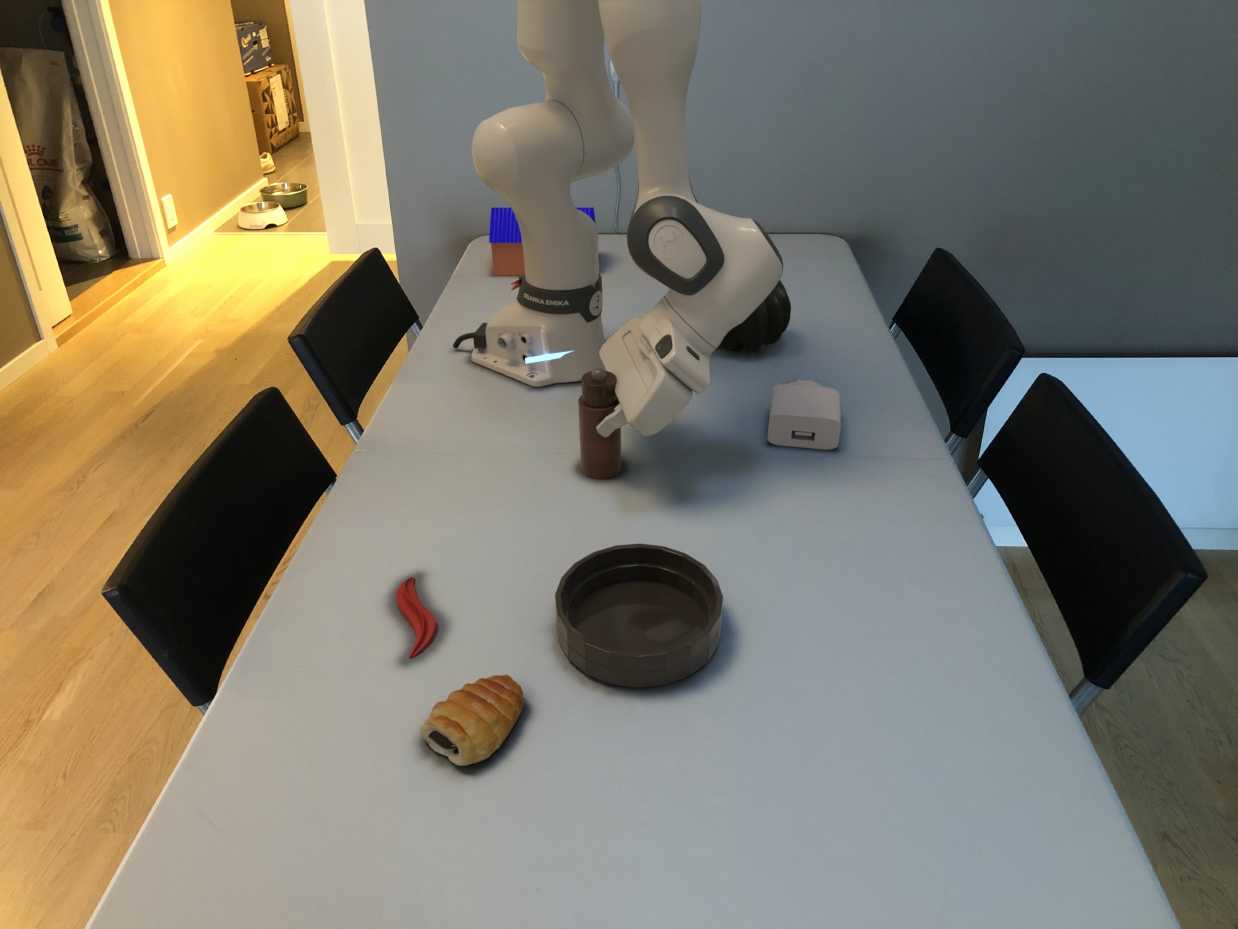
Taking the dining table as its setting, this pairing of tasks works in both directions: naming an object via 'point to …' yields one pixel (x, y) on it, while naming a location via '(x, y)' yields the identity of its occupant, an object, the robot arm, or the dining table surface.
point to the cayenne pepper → (416, 616)
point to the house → (511, 241)
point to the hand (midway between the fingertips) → (594, 418)
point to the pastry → (474, 719)
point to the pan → (638, 615)
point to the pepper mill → (595, 449)
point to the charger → (804, 415)
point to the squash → (761, 323)
